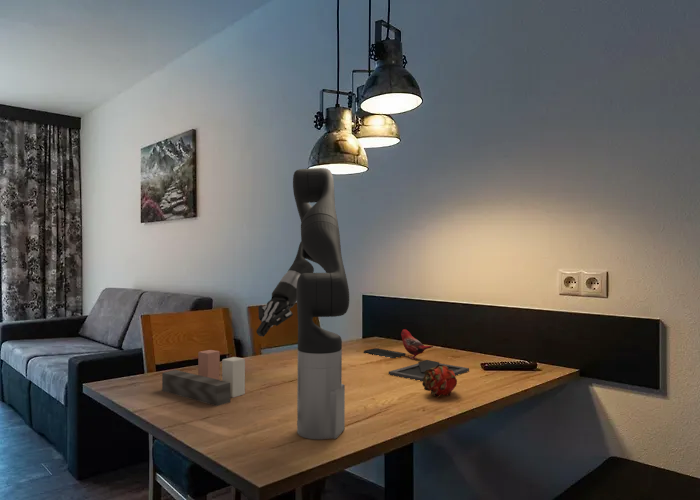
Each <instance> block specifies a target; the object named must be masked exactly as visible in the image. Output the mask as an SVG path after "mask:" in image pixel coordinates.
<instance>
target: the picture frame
mask: <svg viewBox="0 0 700 500" xmlns="http://www.w3.org/2000/svg"><path fill="white" fill-rule="evenodd" d="M436 366H447V367H448V368H449V369H451V370H452V371H453V372H454V373H455V375H457V376H459V375H458V374H460V375H462V374H461V373H463V374H465V373H464V372H466V373H468V372H467V371H469V372H470V368H469V367H465V366H464V367H463V366H457V365H453V364H445V363H441V362H439V361H433V360H431V359H424V360H421V361H418V362H417V363H416V364H411V365H407V366H404V367H400V368H397V369H393V370H389V371H388V375H389V374H390V375H389V376H393V375H394V376H393V377H398V376H399V378H402V377H404V378H403V379H407V378H410V379H409V380H412V379H415V380H414V381H417V380H420V381H419V382H422V381H423V377H424V376H425V374H424V372H425V370H429V369H430V368H434V367H436Z"/></svg>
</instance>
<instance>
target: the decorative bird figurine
mask: <svg viewBox="0 0 700 500" xmlns="http://www.w3.org/2000/svg"><path fill="white" fill-rule="evenodd" d="M400 335H401V339H402V344H403V346H404V349H405V350H406V352H407V353H408V354H410V355H412V356H409V355H408V356H407V357H408V358H410V359H411V360H415V359H416V360H418V359H417V356H418V355H420V354H422V353H424V352H425V350H428V349H431V348H434V346H433V345H424V344H423V343H422V342H421V341H419V340H418V339H417V338H415V337H414V336H412V334H411V332H410V331H408V330H407V329H406V328H405V329H402V331H401V333H400Z"/></svg>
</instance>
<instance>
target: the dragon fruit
mask: <svg viewBox="0 0 700 500" xmlns="http://www.w3.org/2000/svg"><path fill="white" fill-rule="evenodd" d="M424 374H425V376H424V377H423V382H421V383H422V387H423V390H425V391H428V392H429V391H430V392H431V395H432V396H434V397H435V398H439V397H440V396H441V395H443V396H445V397H451V395H452V392H453V391H454V389H455V387H457V385H458V379H457V376H455V373H454V372H453V371H452V370H451V369H449V368H448V367H447V366H436V367H434V368H430V369H429V370H425V372H424Z"/></svg>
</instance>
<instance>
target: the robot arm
mask: <svg viewBox="0 0 700 500" xmlns="http://www.w3.org/2000/svg"><path fill="white" fill-rule="evenodd" d="M292 190H293V197H294V201H295V205H296V209H297V212H298V215H299V218H300V242H299V246H298V247H297V248H298V249H297V252H296V255H295V258H294V261H293V262H292V264H291V266H290V267H289V269H287V272H286V273H285V274H284V275H283V276H282V277H281V279H280V281H279V282H278V283H277V284H276V286H275V288H274V289H273V290H272V292H271V299H270V300H269V301H267V303H266V305H262V304H261V305H259V306H258V308H257V309H258V311H257V313H258V319H259V321H260V322H261V323H260V324H259V326H258V328H257V329H256V334H257V336H259V337H265V335H266V334H267V333H268V332H269V330H270V329H271V328H273V326H276V327H277V326H279V325H281V324H282V323H284V322H285V321H287V320H288V319H289V318H291V317H292V316H293V312H292V311H291V310H290V309H291V308H293V307H294V306H295V305H296V308H297V386H296V387H297V391H296V392H297V395H296V396H297V400H296V401H297V407H296V408H297V413H296V415H297V417H296V418H297V421H296V422H297V424H296V425H297V435H298V436H300V437H301V438H304V439H308V440H328V439H333V440H335V439H337V438H338V437H339V436H340V435H341V434H342V432H344V430H345V427H346V426H345V420H346V419H345V413H346V412H345V411H346V410H345V409H346V407H345V404H346V403H345V401H346V400H345V396H346V395H345V393H346V392H345V391H346V389H345V386H346V385H345V384H344V383H343V381H342V380H343V378H342V377H343V376H342V375H343V374H342V373H343V372H342V365H343V363H342V362H343V353H342V351H343V349H342V348H343V344H342V343H343V341H342V337H341V335H339V334H338V333H335V332H332V331H328V330H326V329H324V328H322V327H320V326H319V325H317V324H316V323H315V322H314V321H313V319H314V318H330V317H331V318H333V317H335V318H336V317H340V316H341V317H342V316H344V315H345V314H346V313H347V312H348V310H349V307H350V289H349V288H350V287H349V283H348V279H347V274H346V270H345V267H344V266H345V265H344V262H343V261H344V260H343V257H342V250H341V249H342V247H341V235H340V227H339V221H338V217H337V211H336V203H335V202H336V201H335V200H336V199H335V198H336V197H335V195H336V194H335V181H334V176H333V174H332V172H331V170H330V169H328V168H326V167H325V168H324V167H314V168H313V167H312V168H300V169H296V170H295V171H294V172H293V177H292ZM310 203H311V204H312V203H313V205H311V204H310ZM311 262H313V263H315V264H318V265H319V266H320V267H321V268H322V269H323V270H324V272H314V271H315V268H314V266H313V264H312V263H311Z"/></svg>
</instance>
